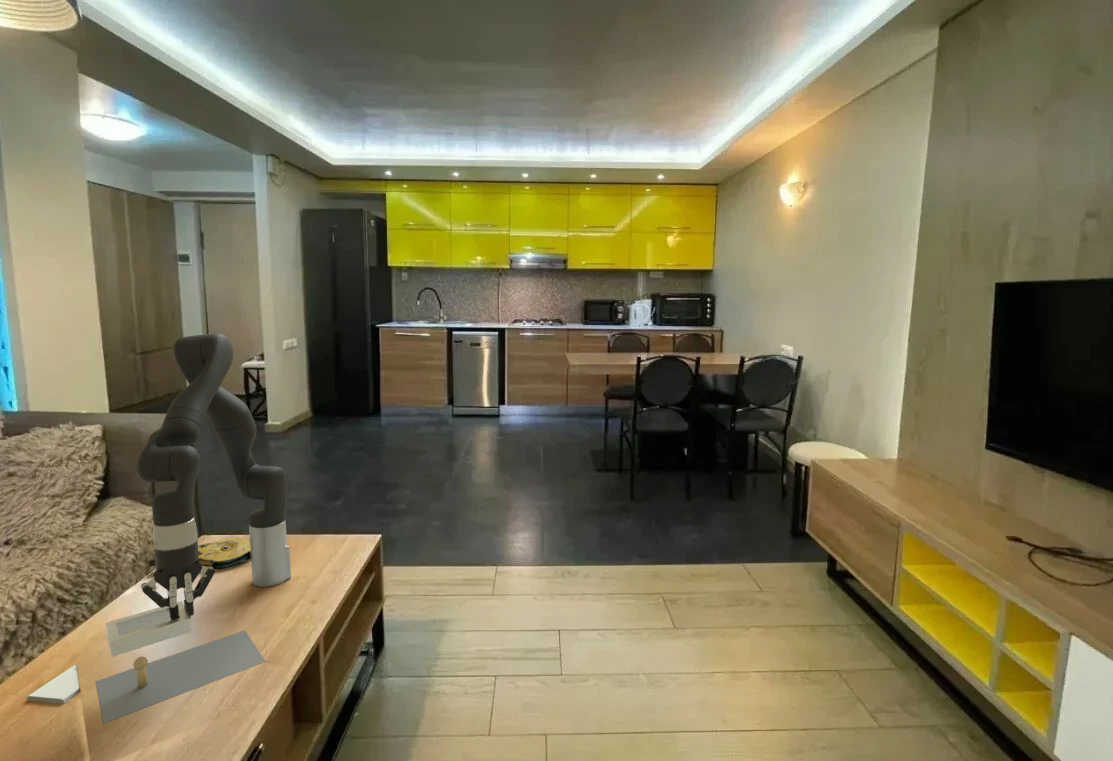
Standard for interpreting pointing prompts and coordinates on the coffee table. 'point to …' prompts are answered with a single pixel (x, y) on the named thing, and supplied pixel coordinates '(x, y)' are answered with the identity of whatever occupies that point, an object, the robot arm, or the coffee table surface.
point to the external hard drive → (59, 688)
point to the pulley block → (222, 553)
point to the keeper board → (174, 674)
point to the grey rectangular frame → (146, 629)
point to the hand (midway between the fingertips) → (182, 619)
